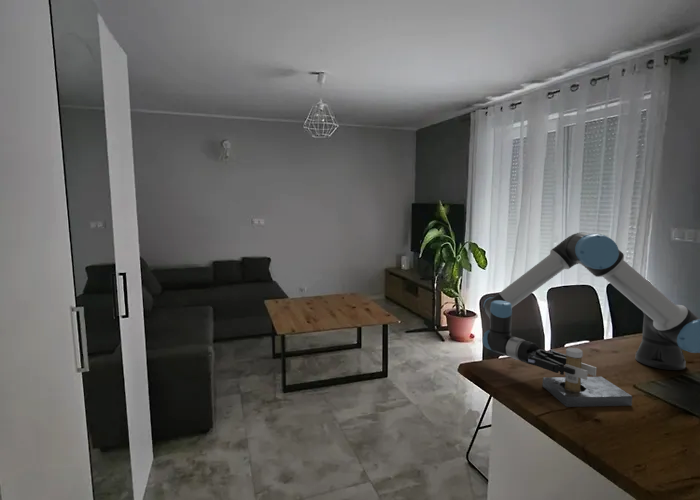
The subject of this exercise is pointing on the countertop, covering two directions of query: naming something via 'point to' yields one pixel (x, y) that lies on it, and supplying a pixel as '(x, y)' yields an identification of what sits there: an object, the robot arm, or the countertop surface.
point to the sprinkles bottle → (575, 360)
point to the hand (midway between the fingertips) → (591, 373)
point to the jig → (588, 393)
